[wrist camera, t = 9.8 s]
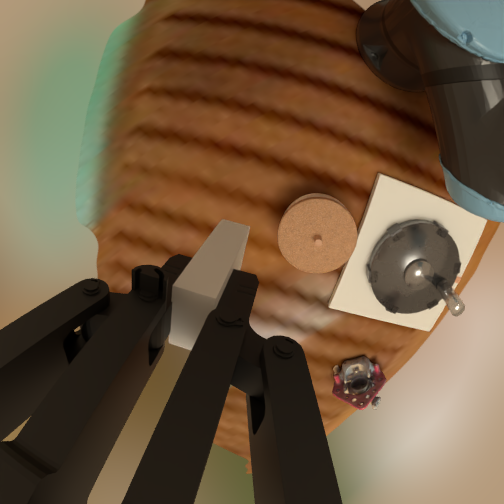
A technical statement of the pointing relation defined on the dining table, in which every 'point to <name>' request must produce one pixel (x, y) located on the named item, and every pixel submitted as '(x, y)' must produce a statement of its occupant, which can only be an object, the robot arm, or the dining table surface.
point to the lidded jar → (317, 233)
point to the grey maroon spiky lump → (358, 382)
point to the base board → (375, 226)
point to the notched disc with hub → (415, 268)
